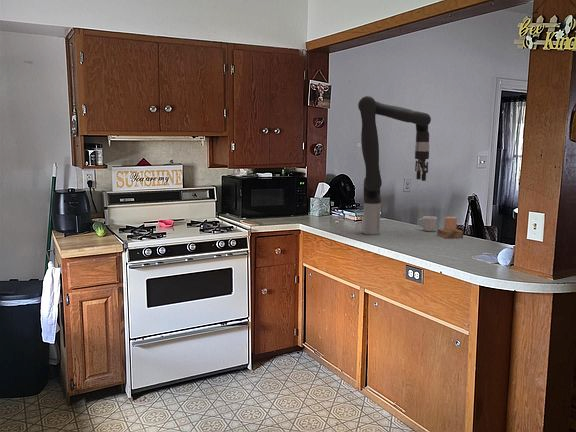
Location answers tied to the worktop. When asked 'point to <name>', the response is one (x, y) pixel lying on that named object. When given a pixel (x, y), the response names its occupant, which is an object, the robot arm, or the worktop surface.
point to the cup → (428, 223)
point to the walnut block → (449, 233)
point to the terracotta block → (450, 223)
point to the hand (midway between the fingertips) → (421, 180)
